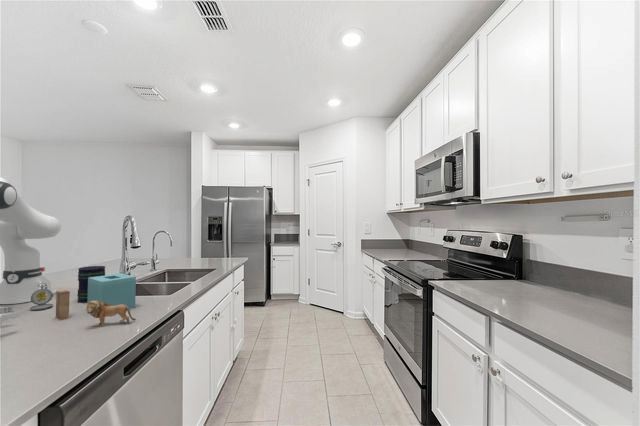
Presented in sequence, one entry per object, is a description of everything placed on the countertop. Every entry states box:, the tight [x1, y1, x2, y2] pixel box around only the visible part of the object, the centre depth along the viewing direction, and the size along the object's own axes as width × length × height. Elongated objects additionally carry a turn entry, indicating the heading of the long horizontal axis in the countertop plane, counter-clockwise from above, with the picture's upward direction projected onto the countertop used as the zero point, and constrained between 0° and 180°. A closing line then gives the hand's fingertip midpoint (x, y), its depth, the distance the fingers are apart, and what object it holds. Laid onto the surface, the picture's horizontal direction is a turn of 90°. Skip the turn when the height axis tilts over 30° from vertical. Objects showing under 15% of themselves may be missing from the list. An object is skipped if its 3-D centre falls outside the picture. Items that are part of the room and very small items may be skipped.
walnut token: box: [55, 289, 71, 321], centre depth 106 cm, size 5×2×10 cm, turn 57°
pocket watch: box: [30, 283, 54, 311], centre depth 118 cm, size 8×8×10 cm
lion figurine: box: [85, 301, 137, 328], centre depth 100 cm, size 15×5×9 cm, turn 116°
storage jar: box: [76, 265, 106, 304], centre depth 130 cm, size 10×10×15 cm
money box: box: [86, 272, 137, 310], centre depth 118 cm, size 14×12×13 cm
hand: (15, 311), depth 96 cm, fingers open, 8 cm apart
